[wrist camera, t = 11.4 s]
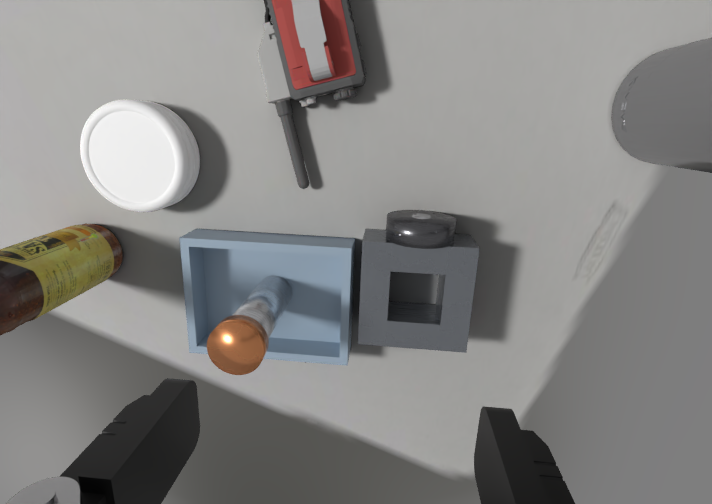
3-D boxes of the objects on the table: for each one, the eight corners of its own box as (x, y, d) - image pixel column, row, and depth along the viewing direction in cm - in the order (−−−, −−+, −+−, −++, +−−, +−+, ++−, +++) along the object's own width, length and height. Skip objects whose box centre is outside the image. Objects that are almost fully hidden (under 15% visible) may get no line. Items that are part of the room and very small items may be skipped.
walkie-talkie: (235, -45, 36) (297, 188, 41) (213, -67, 32) (285, 196, 37) (335, -76, 34) (386, 168, 40) (327, -104, 30) (385, 174, 36)
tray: (354, 238, 42) (351, 248, 38) (350, 347, 45) (347, 365, 42) (196, 228, 43) (179, 237, 39) (204, 335, 46) (189, 352, 43)
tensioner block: (473, 211, 40) (486, 226, 34) (459, 329, 43) (468, 361, 38) (366, 205, 41) (362, 219, 35) (361, 322, 44) (356, 352, 38)
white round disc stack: (209, 116, 40) (192, 116, 36) (195, 217, 43) (177, 225, 39) (106, 88, 40) (79, 85, 36) (99, 191, 43) (74, 197, 39)
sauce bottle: (107, 212, 43) (-118, 283, 24) (137, 267, 45) (-53, 375, 26) (55, 232, 44) (-199, 315, 25) (85, 286, 46) (-133, 401, 27)
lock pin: (296, 272, 43) (262, 325, 32) (296, 313, 44) (264, 376, 33) (253, 270, 43) (204, 321, 32) (254, 310, 44) (208, 372, 33)
